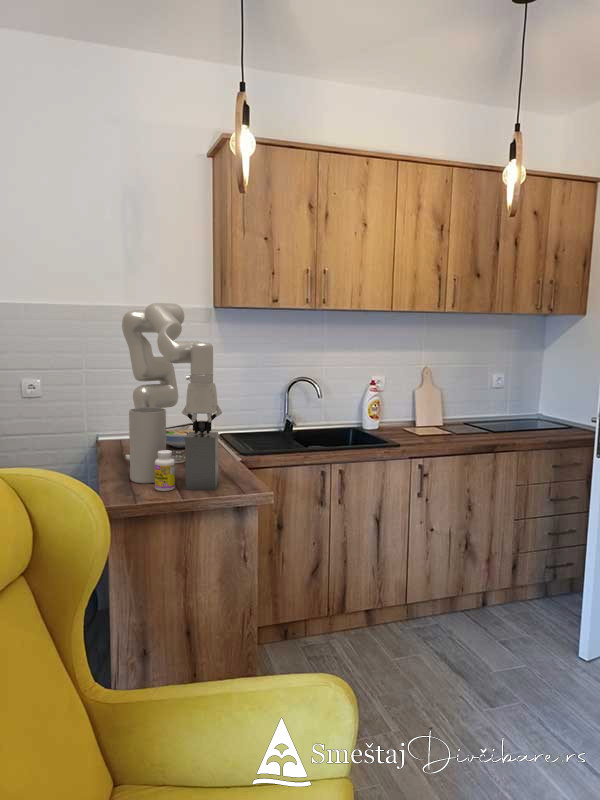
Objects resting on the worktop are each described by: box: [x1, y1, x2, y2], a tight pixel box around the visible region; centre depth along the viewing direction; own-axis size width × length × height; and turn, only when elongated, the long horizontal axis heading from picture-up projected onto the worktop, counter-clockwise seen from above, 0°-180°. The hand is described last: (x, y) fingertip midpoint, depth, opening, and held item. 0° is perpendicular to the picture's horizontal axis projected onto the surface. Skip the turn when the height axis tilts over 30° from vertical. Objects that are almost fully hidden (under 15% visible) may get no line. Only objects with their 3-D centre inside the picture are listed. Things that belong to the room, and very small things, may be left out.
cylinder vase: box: [128, 407, 167, 484], centre depth 212 cm, size 12×12×25 cm
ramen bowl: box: [166, 422, 206, 449], centre depth 270 cm, size 25×23×8 cm
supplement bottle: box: [154, 449, 176, 492], centre depth 201 cm, size 7×7×13 cm
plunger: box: [197, 420, 207, 435], centre depth 205 cm, size 7×7×21 cm
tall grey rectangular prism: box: [184, 431, 219, 491], centre depth 207 cm, size 10×13×18 cm
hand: (202, 432), depth 204 cm, fingers closed on plunger, 3 cm apart
